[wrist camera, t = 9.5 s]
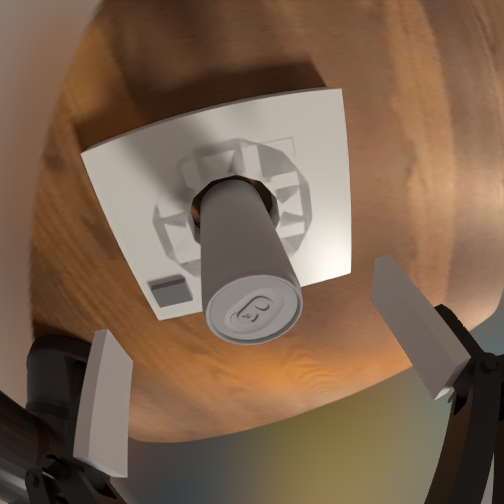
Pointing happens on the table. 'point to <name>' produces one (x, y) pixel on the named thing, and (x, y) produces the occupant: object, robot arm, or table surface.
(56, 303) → the table surface
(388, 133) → the table surface
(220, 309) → the beverage can
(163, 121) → the socket plate
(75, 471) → the robot arm
